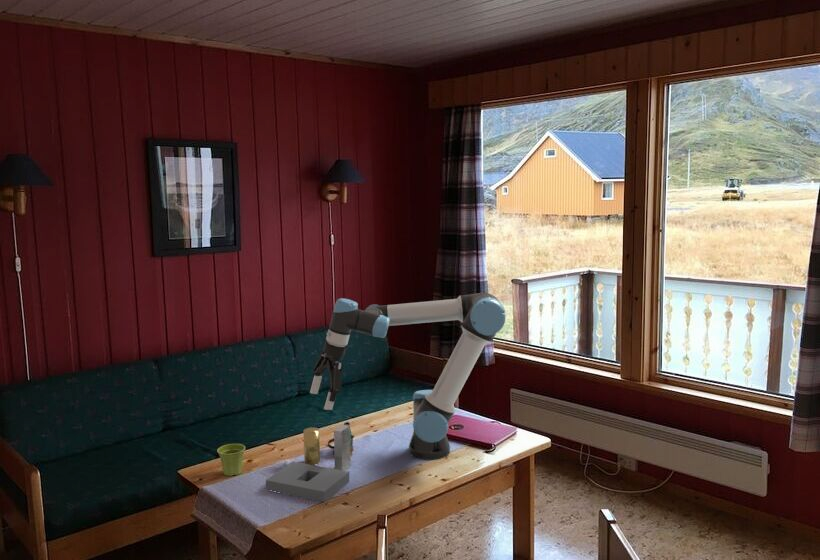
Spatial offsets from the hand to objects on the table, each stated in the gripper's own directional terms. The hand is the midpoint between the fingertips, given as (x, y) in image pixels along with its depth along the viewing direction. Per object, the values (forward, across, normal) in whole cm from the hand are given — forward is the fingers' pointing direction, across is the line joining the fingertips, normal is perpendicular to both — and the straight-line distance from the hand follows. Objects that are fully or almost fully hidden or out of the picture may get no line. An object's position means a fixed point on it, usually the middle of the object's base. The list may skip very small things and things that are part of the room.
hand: (320, 401), depth 236 cm
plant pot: (+32, -8, -22) cm, 39 cm away
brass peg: (+24, -3, +4) cm, 25 cm away
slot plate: (+24, +15, -4) cm, 28 cm away
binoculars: (+22, -6, +17) cm, 28 cm away
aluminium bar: (+21, +8, +11) cm, 25 cm away
